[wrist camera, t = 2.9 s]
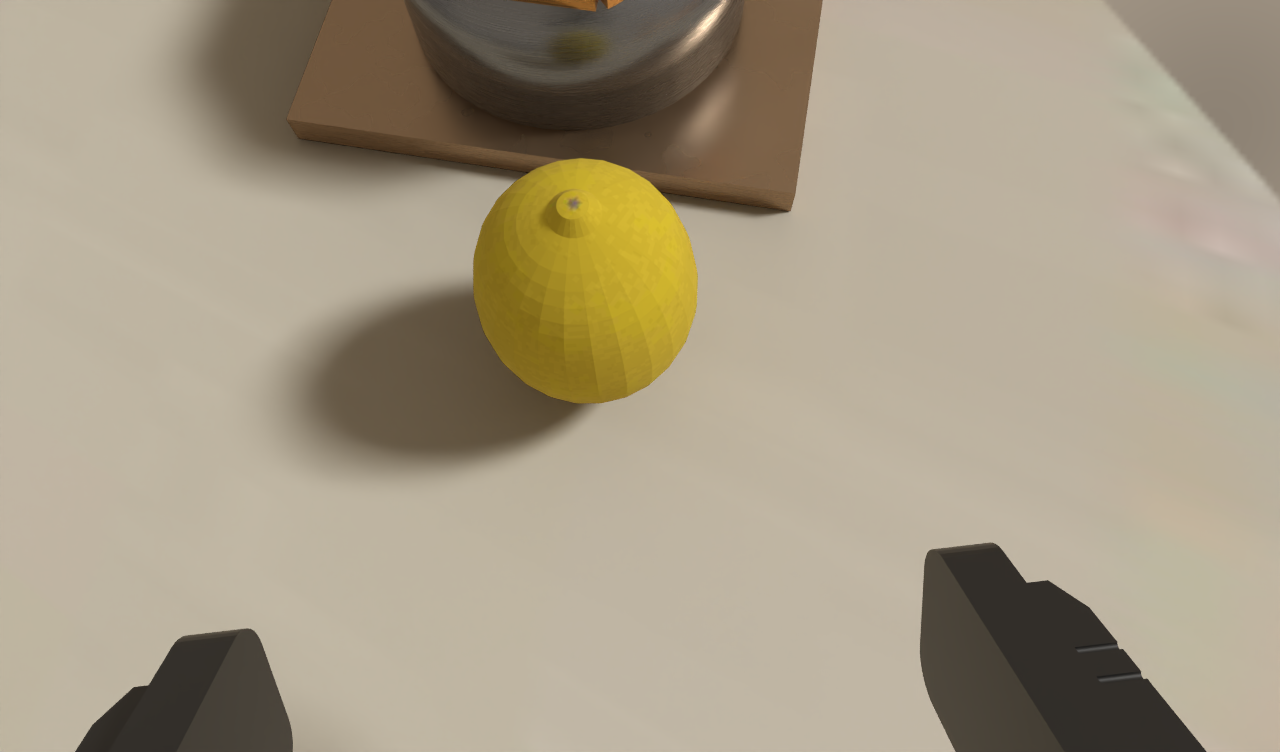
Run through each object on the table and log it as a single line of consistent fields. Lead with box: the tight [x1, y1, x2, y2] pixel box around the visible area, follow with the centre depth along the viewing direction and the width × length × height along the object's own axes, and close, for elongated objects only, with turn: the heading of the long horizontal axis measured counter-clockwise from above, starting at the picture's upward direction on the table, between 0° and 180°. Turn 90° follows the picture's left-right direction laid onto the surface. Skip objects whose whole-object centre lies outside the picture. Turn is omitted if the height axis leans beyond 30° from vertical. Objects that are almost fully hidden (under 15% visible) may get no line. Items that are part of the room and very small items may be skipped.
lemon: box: [473, 158, 698, 403], centre depth 22 cm, size 6×6×8 cm
